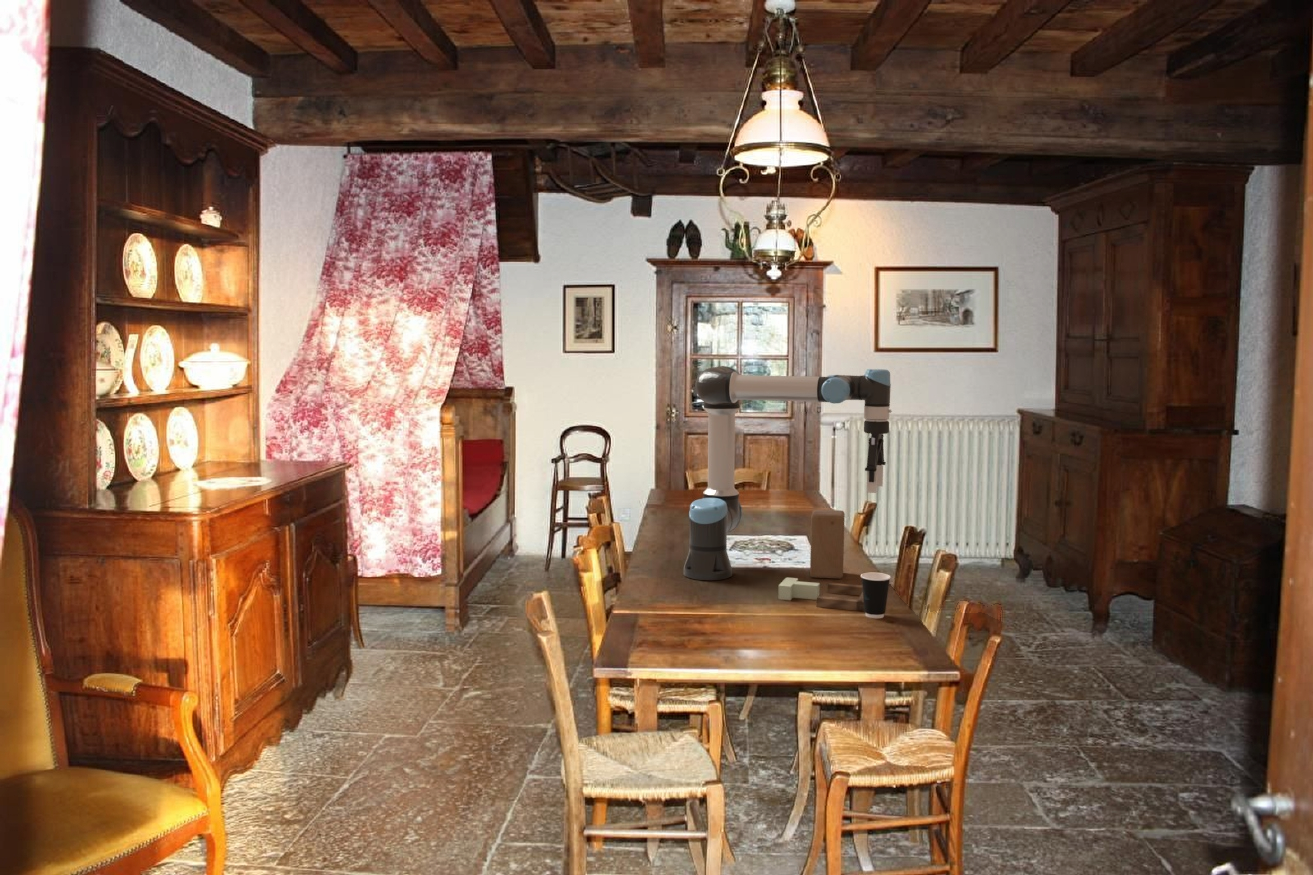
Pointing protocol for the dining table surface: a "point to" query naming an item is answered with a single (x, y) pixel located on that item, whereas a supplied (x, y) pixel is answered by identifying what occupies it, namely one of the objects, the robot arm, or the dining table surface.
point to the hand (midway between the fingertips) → (874, 489)
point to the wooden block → (827, 544)
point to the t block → (798, 589)
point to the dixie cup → (875, 593)
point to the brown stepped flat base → (842, 602)
